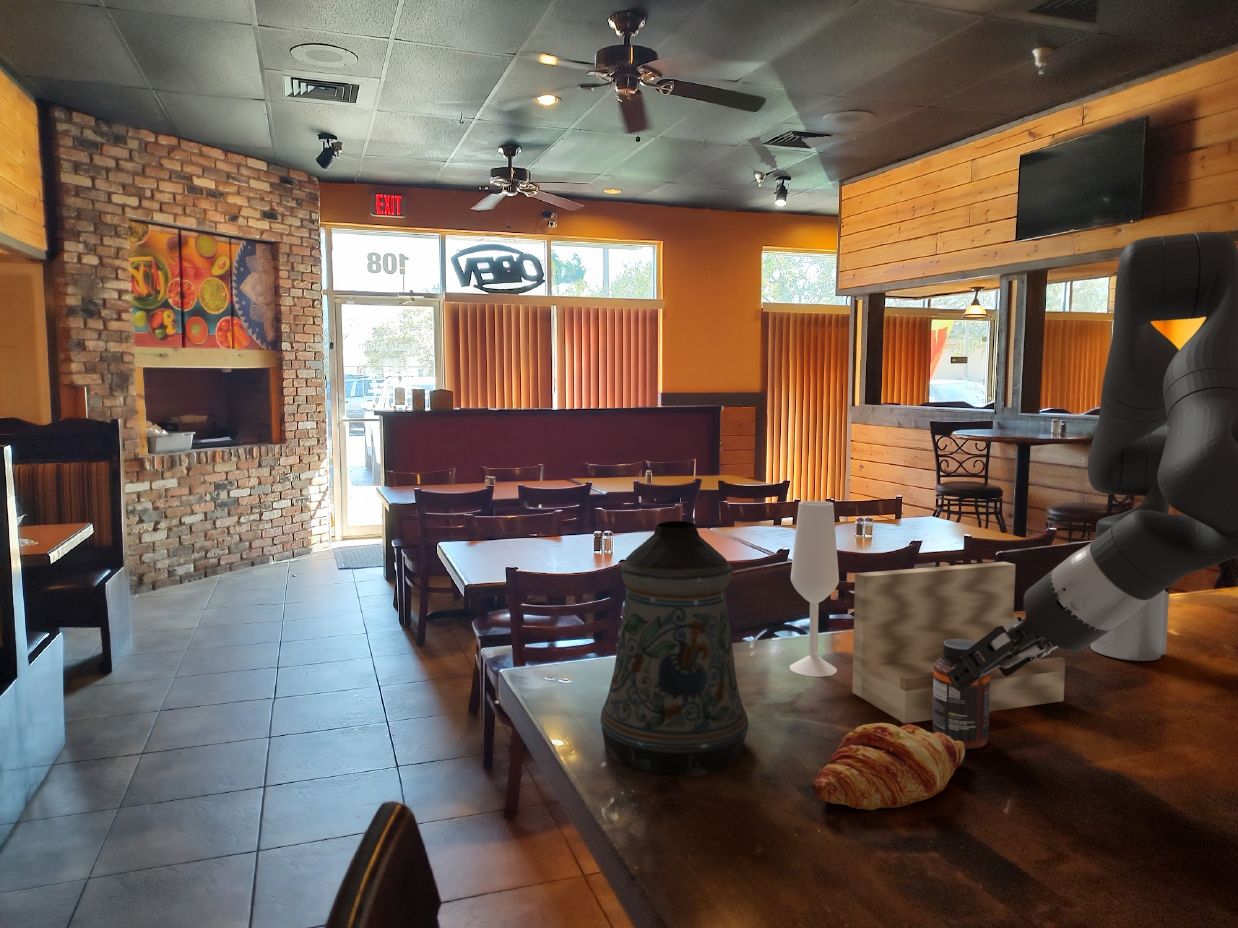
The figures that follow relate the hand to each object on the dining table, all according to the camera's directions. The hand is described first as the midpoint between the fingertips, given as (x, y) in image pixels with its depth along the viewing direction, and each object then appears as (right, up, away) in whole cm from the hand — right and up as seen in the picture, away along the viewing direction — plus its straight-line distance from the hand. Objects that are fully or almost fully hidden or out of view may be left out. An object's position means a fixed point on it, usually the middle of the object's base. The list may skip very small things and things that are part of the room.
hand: (978, 675), depth 93 cm
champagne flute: (-12, -6, +27) cm, 30 cm away
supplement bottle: (-1, -8, +2) cm, 9 cm away
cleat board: (+4, -7, +16) cm, 18 cm away
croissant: (-12, -9, -9) cm, 18 cm away
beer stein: (-34, -8, +3) cm, 35 cm away
